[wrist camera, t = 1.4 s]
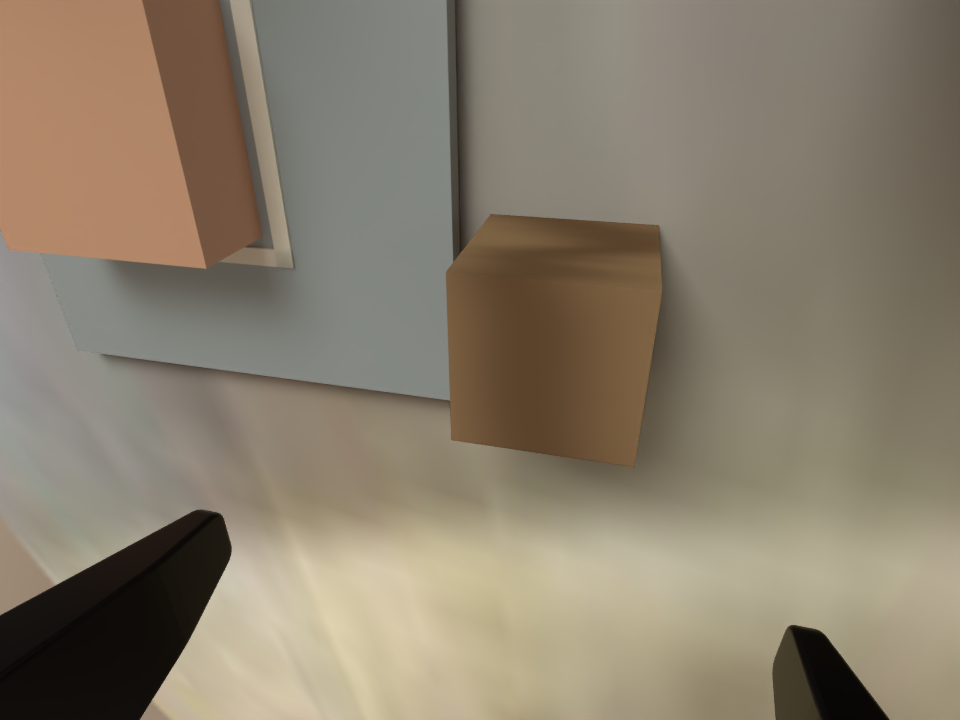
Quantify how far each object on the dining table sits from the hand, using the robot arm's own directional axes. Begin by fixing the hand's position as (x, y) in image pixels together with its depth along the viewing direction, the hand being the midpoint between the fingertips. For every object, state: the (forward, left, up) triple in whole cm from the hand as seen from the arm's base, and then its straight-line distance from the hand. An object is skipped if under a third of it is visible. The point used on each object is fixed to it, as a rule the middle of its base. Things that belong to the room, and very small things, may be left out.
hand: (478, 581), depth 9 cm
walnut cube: (0, 0, -12) cm, 12 cm away
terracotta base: (+13, -5, -11) cm, 18 cm away
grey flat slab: (+11, -3, -12) cm, 17 cm away
